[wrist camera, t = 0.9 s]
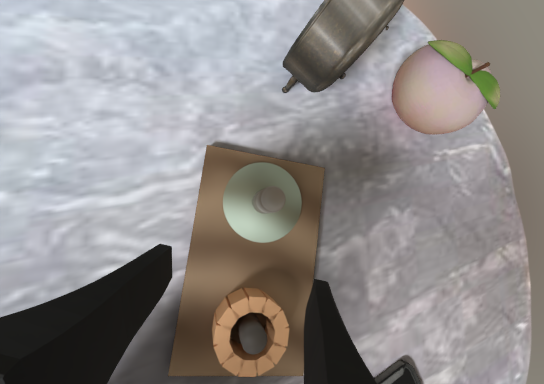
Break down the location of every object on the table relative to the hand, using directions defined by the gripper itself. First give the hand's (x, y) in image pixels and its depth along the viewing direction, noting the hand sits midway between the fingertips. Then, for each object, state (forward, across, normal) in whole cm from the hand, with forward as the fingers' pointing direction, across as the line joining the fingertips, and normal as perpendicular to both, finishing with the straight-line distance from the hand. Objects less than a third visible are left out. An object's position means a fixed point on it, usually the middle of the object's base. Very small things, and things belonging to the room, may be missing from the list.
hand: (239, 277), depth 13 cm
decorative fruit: (+26, -13, -6) cm, 30 cm away
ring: (+6, 0, +12) cm, 13 cm away
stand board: (+10, +1, +8) cm, 13 cm away
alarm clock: (+24, -1, -9) cm, 25 cm away
